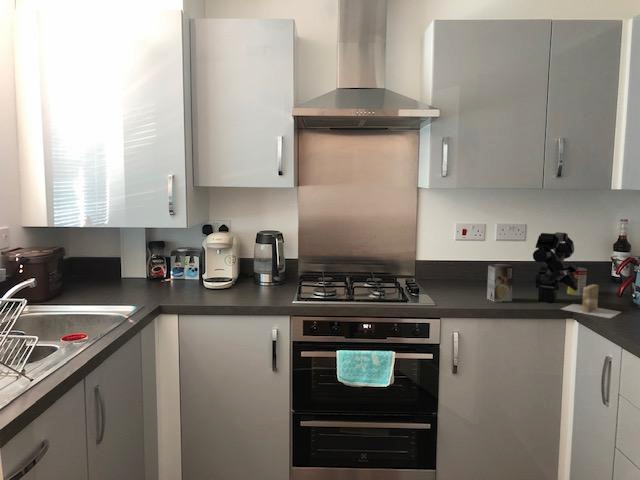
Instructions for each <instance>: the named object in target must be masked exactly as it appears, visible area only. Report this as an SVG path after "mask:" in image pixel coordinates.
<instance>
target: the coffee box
mask: <svg viewBox="0 0 640 480" xmlns="http://www.w3.org/2000/svg"><path fill="white" fill-rule="evenodd" d="M513 285H514V265H512V264H507V263H495V264H494V263H492V264H491V263H490V264H489V263H488V264H487V288H486V289H487V293H486V294H487V295H486V299H487V300H488V299H489V300H488V301H490V300H491V302H492V301H493V303H503V301H504V303H505V301H506V302H513V293H514V292H513V289H514V286H513Z"/></svg>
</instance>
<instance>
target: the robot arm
mask: <svg viewBox="0 0 640 480" xmlns="http://www.w3.org/2000/svg"><path fill="white" fill-rule="evenodd" d="M568 235H569V234H568V233H566V232H559V231H558V232H555V233H548V232H541V233H540V235H539V236H538V237H537V241H536V244H535V250H534V251H533V253H532V259H533V260H534V261H535V262H537V263H538V264H539V263H544V264H545V265H546V267H545V266H542V267H540V269H539V270H538V273H537V274H536V275H535V288H536V289H538V299H537V300H536V301H535V302H536V303H545V304H554V303H556V302H557V295H558V294H557V291H559V290H560V283H562V284H565V285H566V286H567V285H568V286H569V287H570V288H572V289H573V290H575V291H576V290H578V288H577V284H576V280H575V276H574V272H575V271H577V270H578V268H579V267H578V268H577V266H576V265H573V264H572V265H569V266H568V265H565V264H564V261H565V260H566V259H569V258H571V256H572V255H573V254H574V253H575V246H574V241H573V240H572V239H571V238H570V237H569V236H568Z"/></svg>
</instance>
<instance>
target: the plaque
mask: <svg viewBox="0 0 640 480" xmlns="http://www.w3.org/2000/svg"><path fill="white" fill-rule="evenodd" d="M599 287H600V285H599V284H593V283H592V284H589V285H587V286H586V287H584V288H583V295H582V301H581V303H582V304H581V305H582V312H586V313H589V312H591V311H593V310H595V309H597V308H598V303H599V302H598V299H599Z"/></svg>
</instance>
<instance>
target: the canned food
mask: <svg viewBox="0 0 640 480" xmlns="http://www.w3.org/2000/svg"><path fill="white" fill-rule="evenodd" d="M576 267H577V266H576ZM577 268H578V270H577V271H575V272H574V276H575V280H576V284H577V288H578V290H576V291H575V290H573V289H572V288H570V287H569V286H568V285H566V294H567V295H572V296H583V288H584V287H587V286H586V285H587V275H588V274H587V270H588V269H587V268H586V267H585V268H583V267H577Z"/></svg>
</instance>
